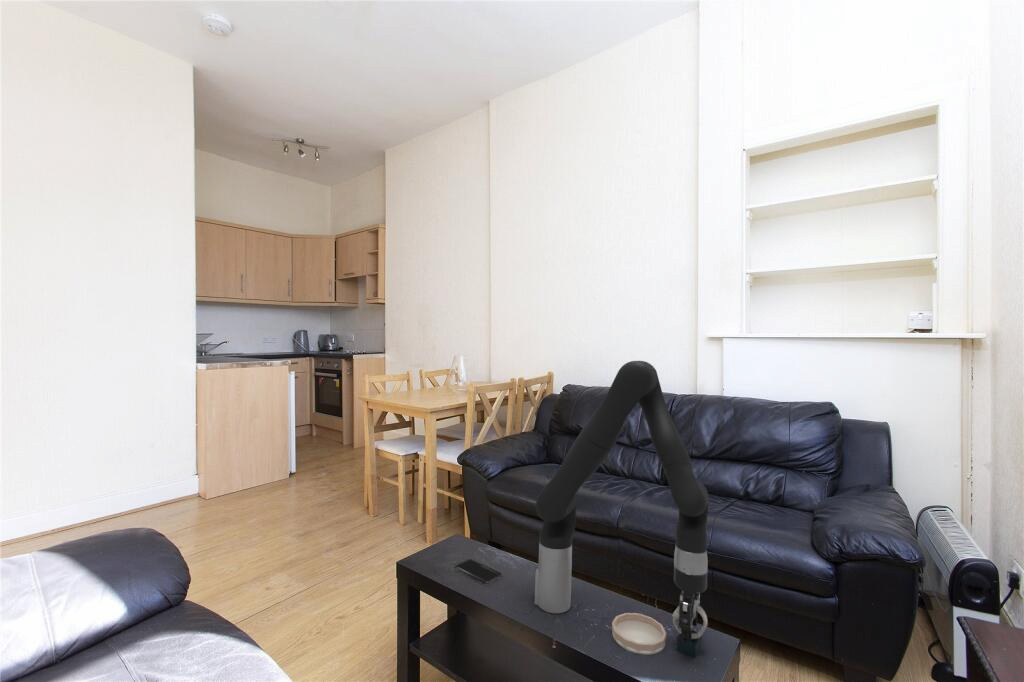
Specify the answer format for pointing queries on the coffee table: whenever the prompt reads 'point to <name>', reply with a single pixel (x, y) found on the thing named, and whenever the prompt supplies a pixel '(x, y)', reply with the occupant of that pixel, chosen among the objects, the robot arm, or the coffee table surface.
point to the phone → (478, 571)
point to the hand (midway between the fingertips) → (689, 633)
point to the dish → (638, 633)
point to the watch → (696, 636)
